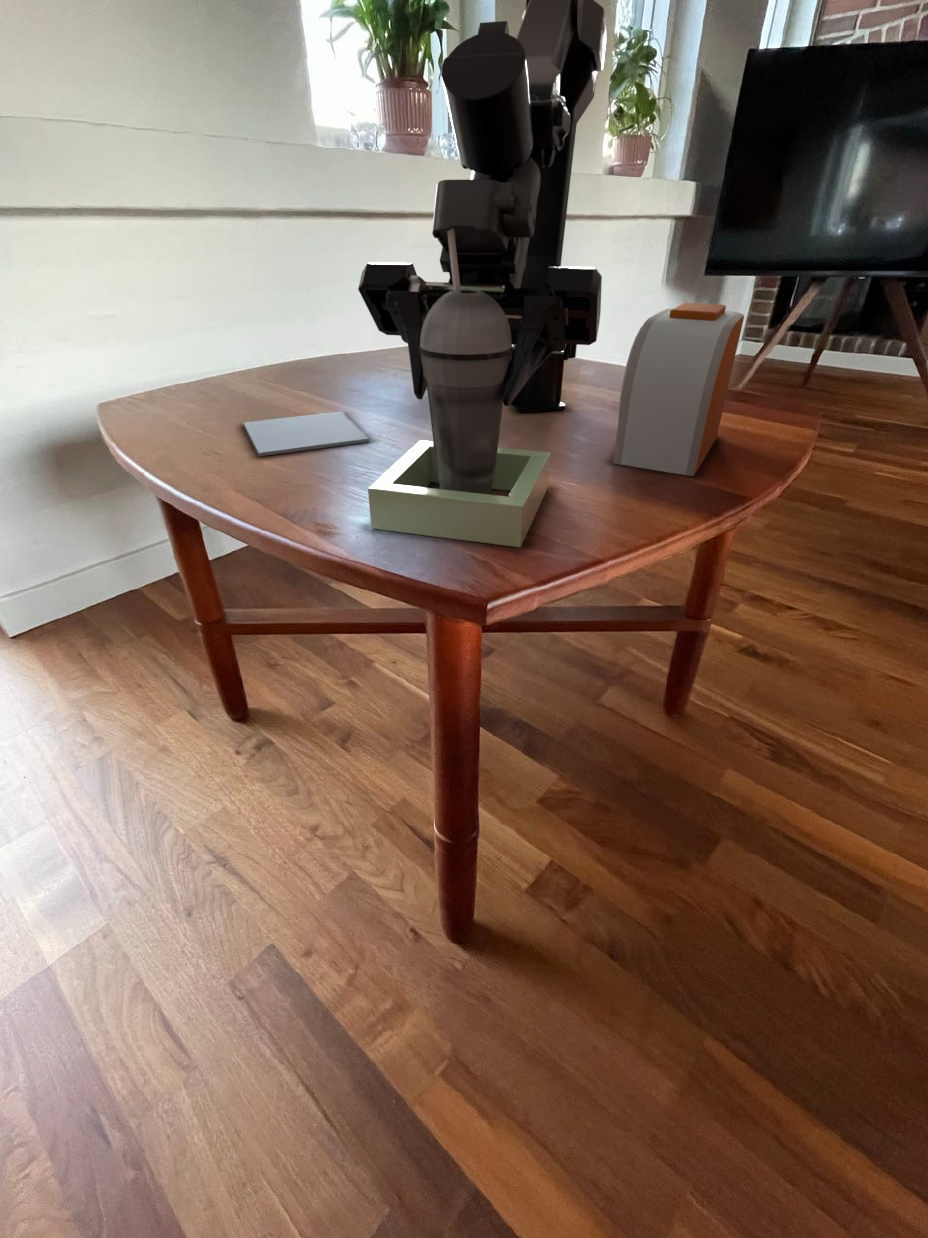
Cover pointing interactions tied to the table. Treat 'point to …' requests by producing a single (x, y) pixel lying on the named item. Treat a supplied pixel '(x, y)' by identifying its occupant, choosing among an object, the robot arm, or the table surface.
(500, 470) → the frame
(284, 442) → the mat
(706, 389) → the alarm clock
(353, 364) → the table surface
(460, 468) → the beverage cup
